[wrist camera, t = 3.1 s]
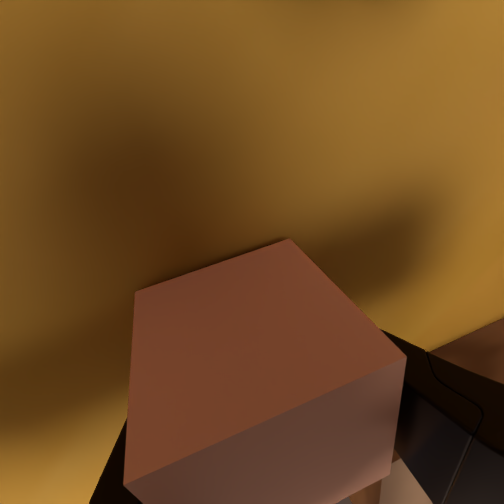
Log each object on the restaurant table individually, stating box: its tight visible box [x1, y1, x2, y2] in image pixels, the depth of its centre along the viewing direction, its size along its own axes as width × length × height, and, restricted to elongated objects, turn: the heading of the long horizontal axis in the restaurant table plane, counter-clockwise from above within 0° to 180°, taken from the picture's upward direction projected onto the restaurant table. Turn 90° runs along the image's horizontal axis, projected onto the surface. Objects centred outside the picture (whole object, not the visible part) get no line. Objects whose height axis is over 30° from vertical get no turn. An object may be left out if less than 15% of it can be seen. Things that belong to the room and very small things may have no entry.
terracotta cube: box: [123, 238, 407, 504], centre depth 8 cm, size 5×5×5 cm
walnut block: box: [349, 318, 504, 504], centre depth 18 cm, size 12×12×4 cm
